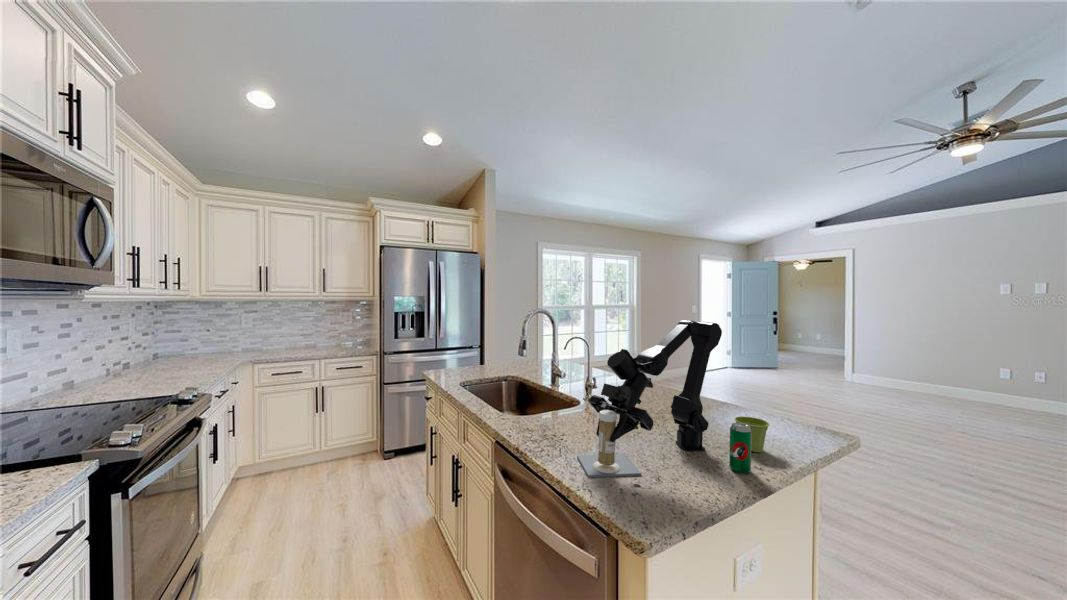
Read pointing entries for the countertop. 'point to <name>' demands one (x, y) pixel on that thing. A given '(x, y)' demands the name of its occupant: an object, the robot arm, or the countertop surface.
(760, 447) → the plant pot
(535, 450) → the countertop surface
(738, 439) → the soda can
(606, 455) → the sprinkles bottle
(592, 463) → the board
